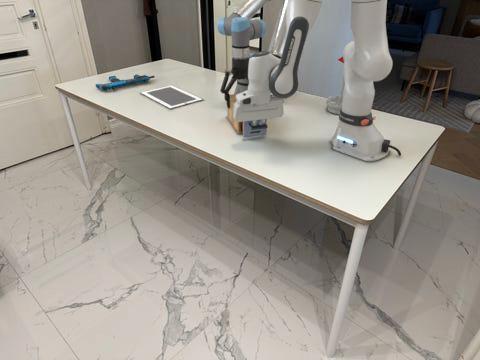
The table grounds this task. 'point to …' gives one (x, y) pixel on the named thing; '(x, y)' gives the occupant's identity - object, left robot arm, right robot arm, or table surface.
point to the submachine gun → (123, 82)
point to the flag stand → (336, 97)
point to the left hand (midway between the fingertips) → (240, 106)
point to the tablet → (171, 96)
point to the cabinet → (230, 114)
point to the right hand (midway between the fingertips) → (258, 129)
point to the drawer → (253, 128)
